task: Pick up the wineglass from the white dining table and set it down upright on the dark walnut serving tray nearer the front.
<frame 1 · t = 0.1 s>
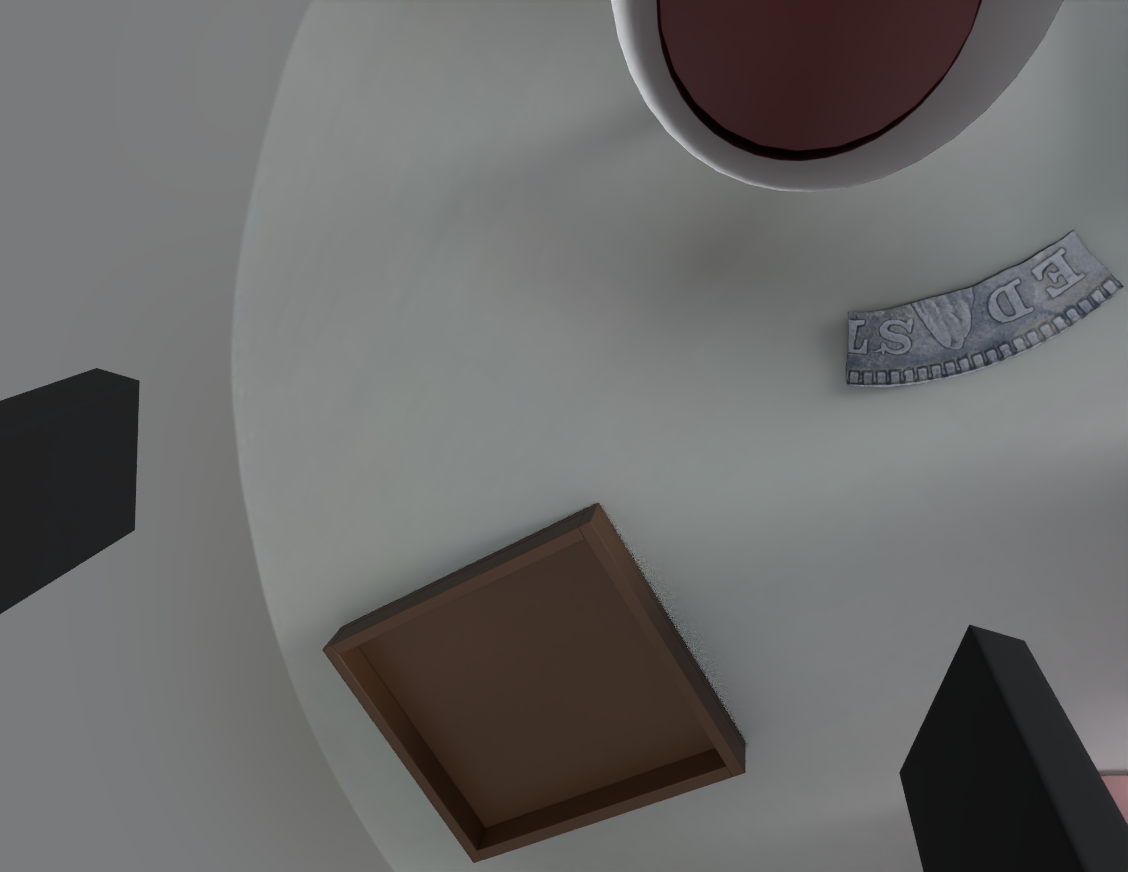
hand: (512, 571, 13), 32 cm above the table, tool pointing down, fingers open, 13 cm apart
coin fragment: (970, 317, 40), on the table
wineglass: (787, 54, 38), on the table
tray: (536, 683, 52), on the table
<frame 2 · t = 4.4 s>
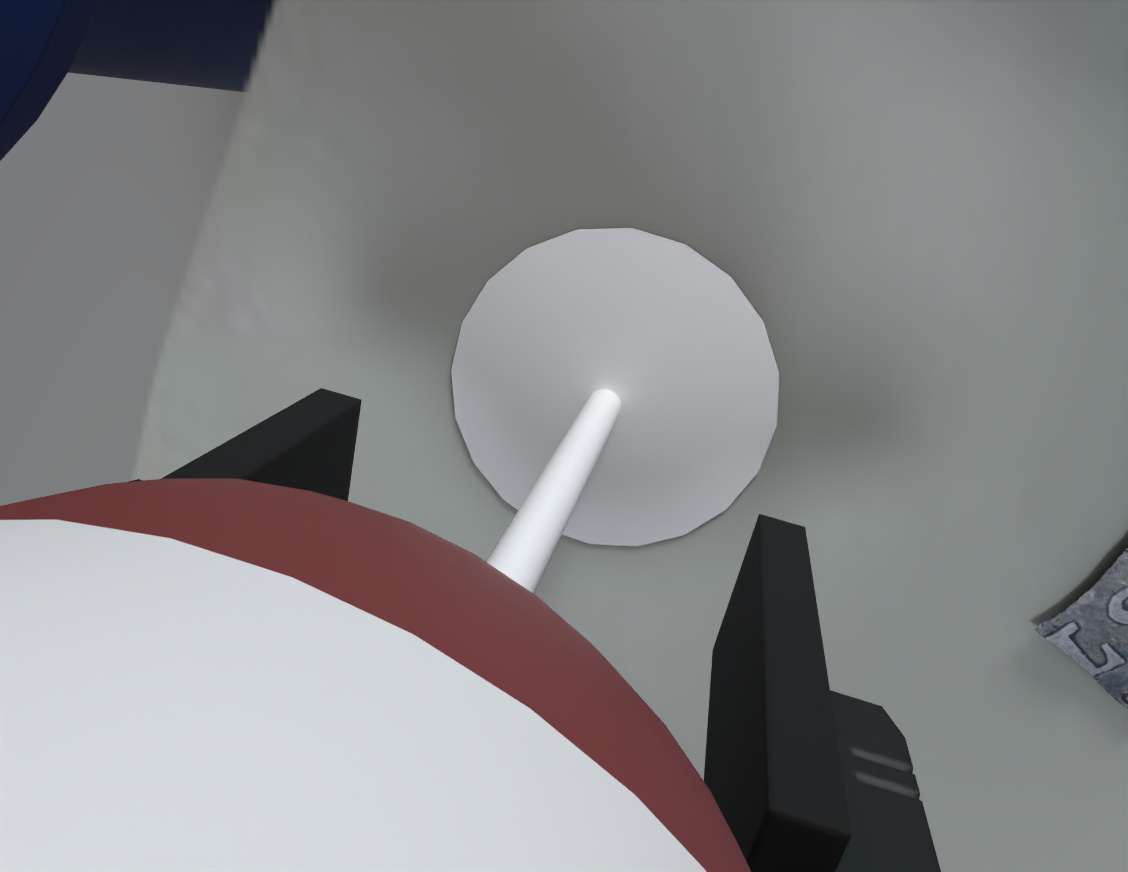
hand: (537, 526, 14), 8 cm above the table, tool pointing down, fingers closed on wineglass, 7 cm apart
wineglass: (610, 394, 22), on the table, touching gripper
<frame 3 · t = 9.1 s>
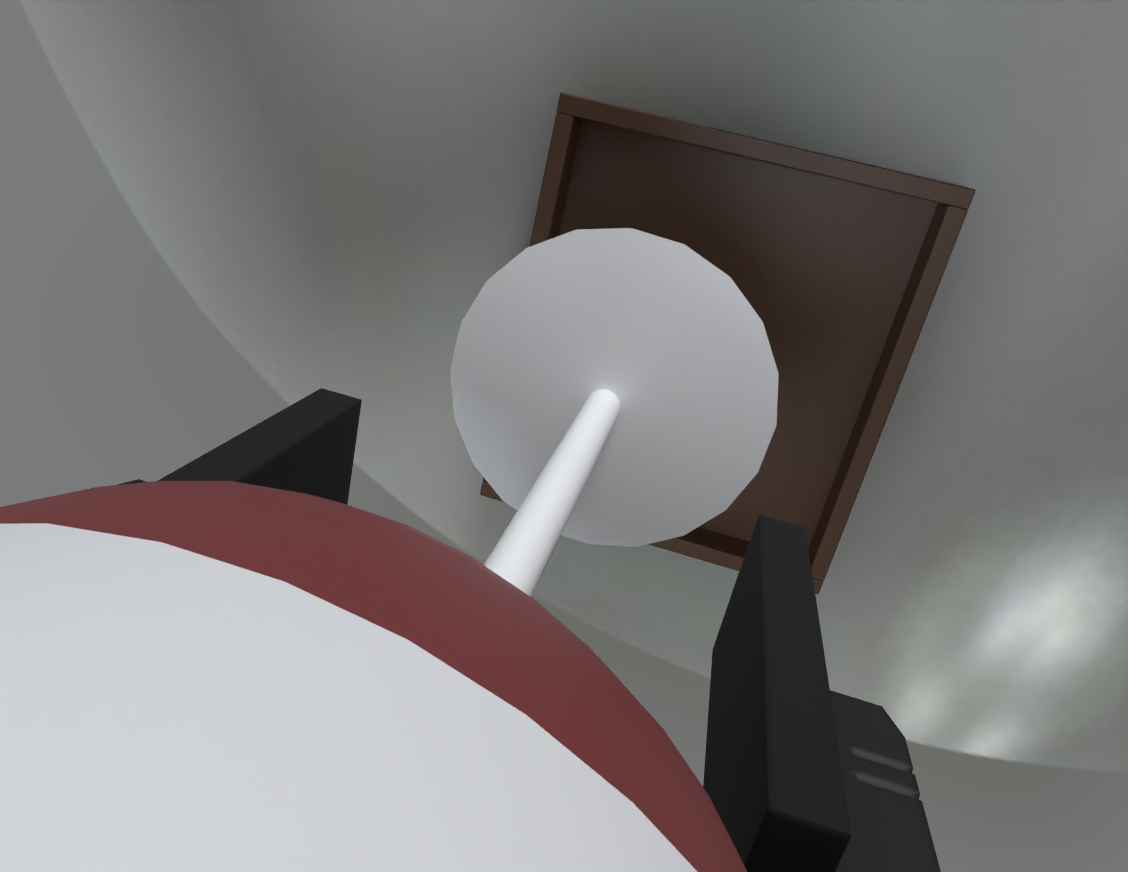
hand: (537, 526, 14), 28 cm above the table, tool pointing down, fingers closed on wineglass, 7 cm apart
wineglass: (609, 395, 22), point 19 cm above the table, touching gripper
tray: (700, 347, 41), on the table
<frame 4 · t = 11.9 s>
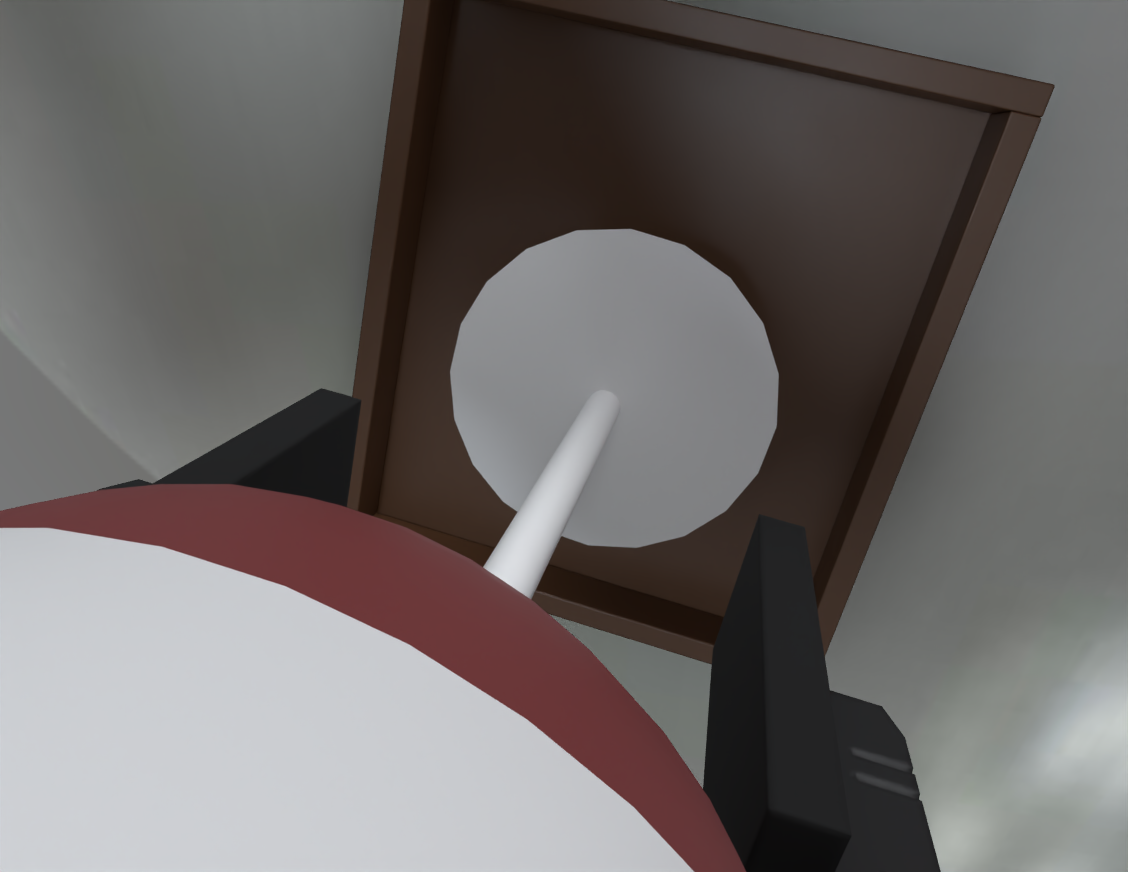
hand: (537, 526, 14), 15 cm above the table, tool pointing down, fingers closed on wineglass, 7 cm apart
wineglass: (609, 395, 22), point 7 cm above the table, touching gripper
tray: (639, 339, 28), on the table
when the fingers open (8 cm above the table, at t = 13.8 s): wineglass stays where it is, resting on tray.
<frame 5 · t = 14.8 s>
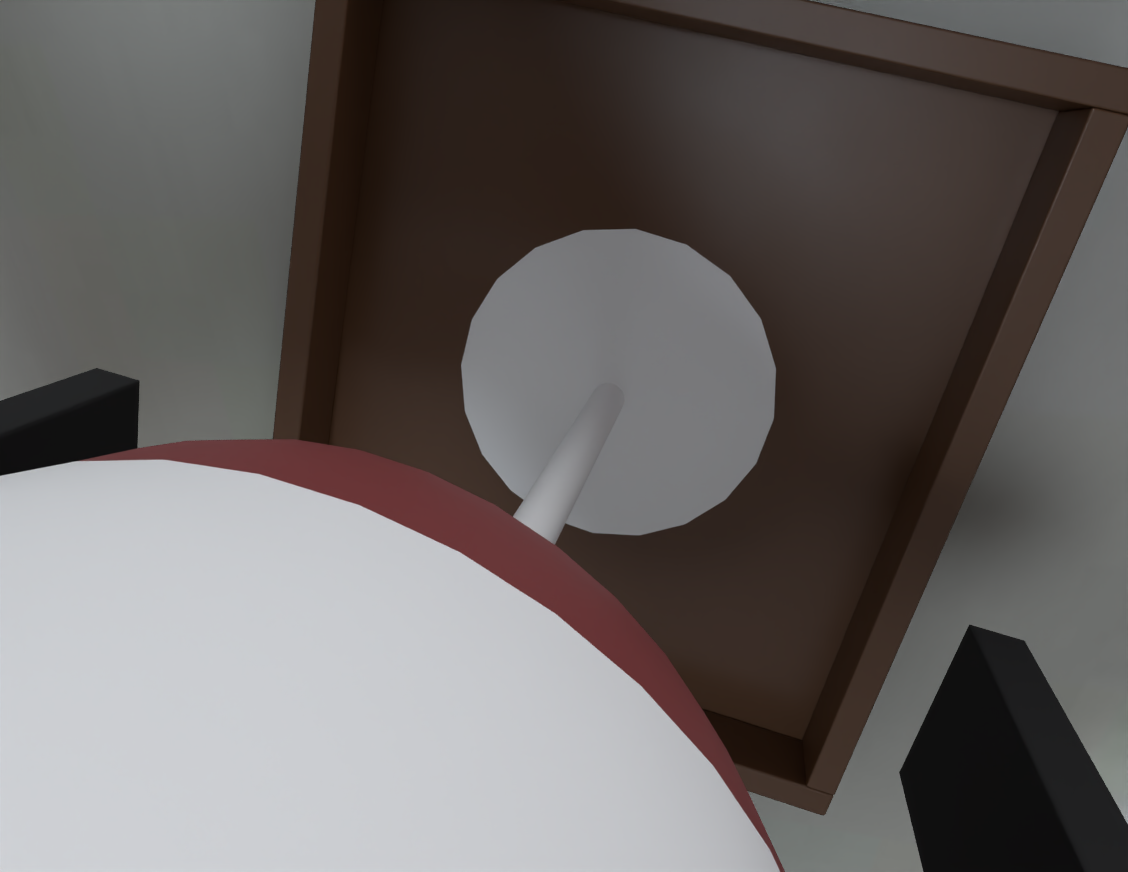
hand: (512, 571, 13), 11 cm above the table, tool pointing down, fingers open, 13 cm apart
wineglass: (613, 389, 23), resting on tray
tray: (619, 385, 23), on the table
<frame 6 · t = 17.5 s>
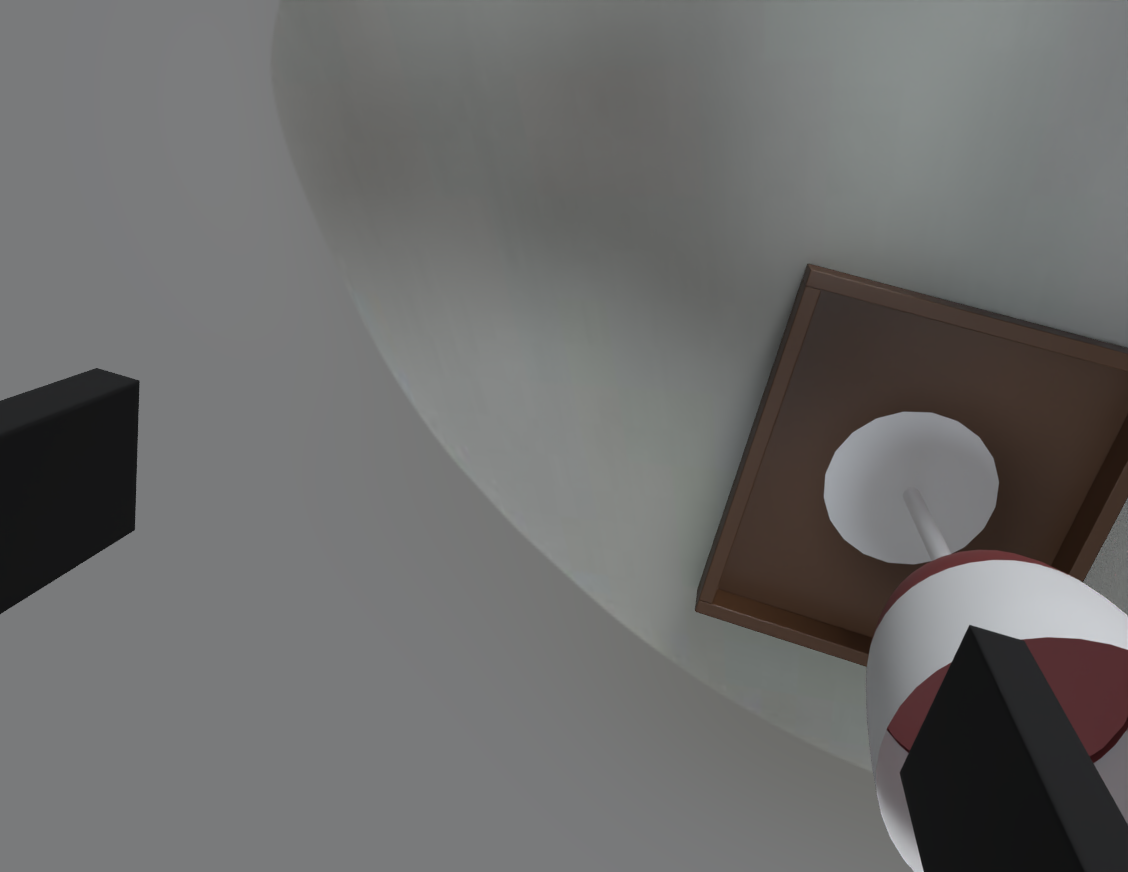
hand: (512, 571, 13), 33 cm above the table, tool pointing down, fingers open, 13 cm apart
wineglass: (908, 488, 44), resting on tray
tray: (908, 485, 45), on the table
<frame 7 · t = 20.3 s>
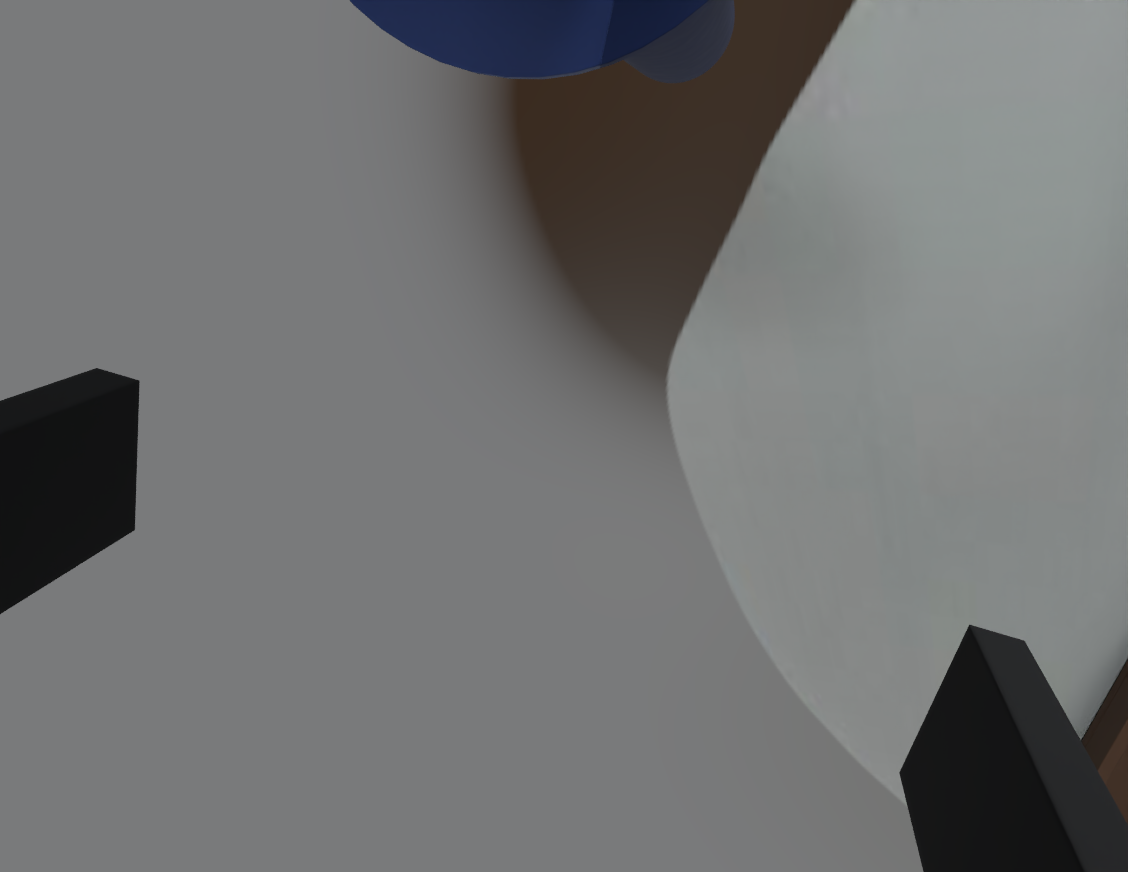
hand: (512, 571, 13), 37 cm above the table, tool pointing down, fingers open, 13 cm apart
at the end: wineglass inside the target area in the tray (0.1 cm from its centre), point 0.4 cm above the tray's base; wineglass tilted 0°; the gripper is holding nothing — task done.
